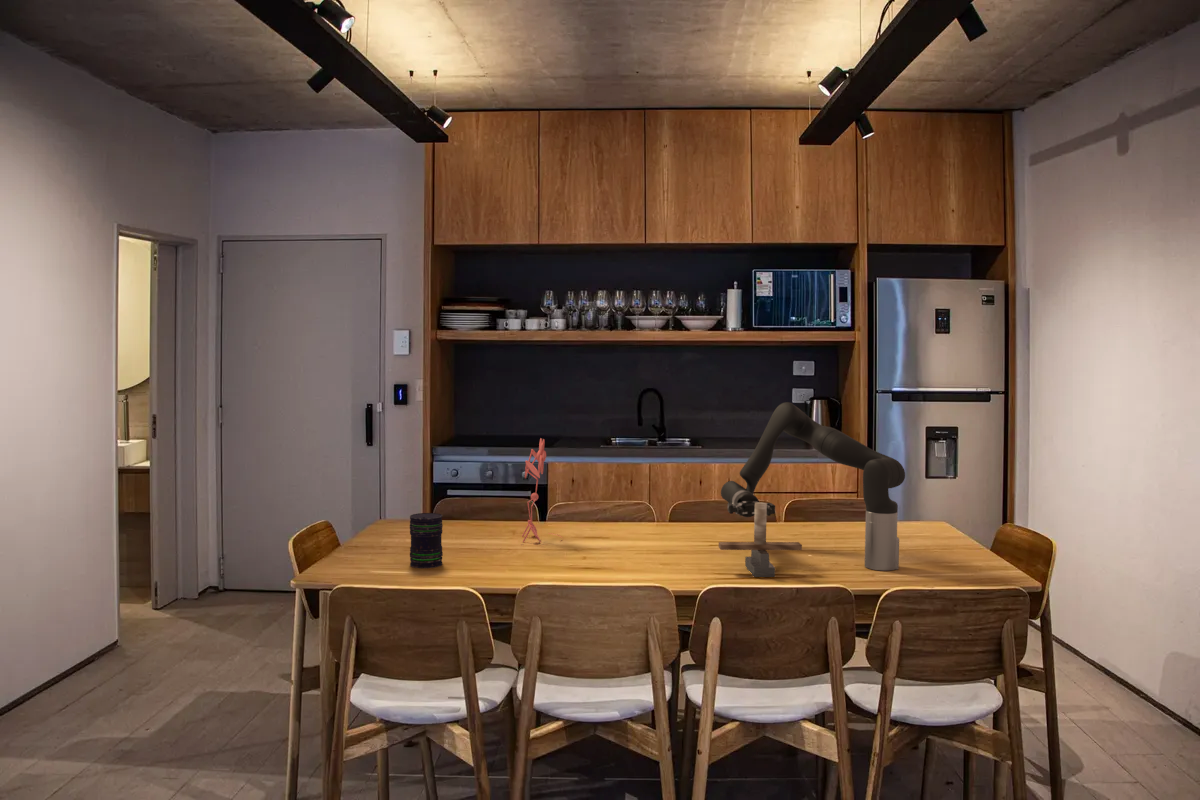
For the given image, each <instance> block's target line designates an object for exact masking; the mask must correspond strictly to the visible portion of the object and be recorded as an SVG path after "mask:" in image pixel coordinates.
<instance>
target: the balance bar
mask: <svg viewBox="0 0 1200 800" xmlns="http://www.w3.org/2000/svg"><path fill="white" fill-rule="evenodd" d="M767 503H768V502H762V501H761V502H760V501H759V502H757V503H755V515H754V516H753V519H754V521H753V523H754V525H753V529H754V530H753V531H754V532H753V541H719V542H718V548H719V550H721V551H750V550H766V551H802V550H803V545H802V544H801V543H800V542H799V541H792V542H790V541H784V542H783V541H767V516H768V515H767Z"/></svg>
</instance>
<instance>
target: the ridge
mask: <svg viewBox="0 0 1200 800" xmlns="http://www.w3.org/2000/svg"><path fill="white" fill-rule="evenodd" d="M750 553H751V556H744V557H745V561H744V562H745V564H744V567H745V566H746V567H747V568H746V567H745V568H746V570H748V572H749V571H750V572H751V573H752V574H751V573H750V572H749V573H750V574H751V576H752V577H753V576H754V577H775V578H776V567H775V566H774V565H773V563H771V562H770V553H769V552H768V550H751V552H750ZM754 577H753V578H754Z"/></svg>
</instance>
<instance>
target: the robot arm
mask: <svg viewBox="0 0 1200 800" xmlns="http://www.w3.org/2000/svg"><path fill="white" fill-rule="evenodd" d="M783 432H784V433H785V434H787V435H789V436H791V437H794V438H796V439H799V440H801V441H804V442H806V443H807V444H809V445H810V446H812V447H813V448H814V449H815V450H816V451H817V452H819V454H822V455H823V456H825V457H827V458H828V459H830V460H831V461H834V462H836V463H838V464H841V465H844V466H848V467H851V468H855V469H859V470H862V471H863V472H862V493H863V495H862V496H863V502H864V504H865V526H864V527H865V536H864V567H865V568H867V569H869V570H874V571H875V570H876V571H894V570H899V567H900V564H899V563H900V538H899V537H898V512H899V511H898V509H899V508H898V506H899V505H898V503H897V502H896V501H894V500H892V499H891V498H890V496H889V495H890V494H889V489H893V488H897V487H899V486H900V485H902V484H903V483H904V482H905V479H906V472H905V468H904V467H903V465H902V464H901V462H899V460H897V459H894V457H890V456H888V455H886V454H883V453H881V452H878V451H876V450H874V449H872V448H870V447H868V446H866V445H865V444H863V443H861V442H859V441H858V440H856V439H854V438H853V437H850V435H847V434H846V433H844V432H842V431H841V430H839V429H837V428H834V427H831V426H826V425H821V424H820V423H818V422H817V421H815V420H814V419H813V418H811V417H809V415H807V414H806V413H805V412H804V411H803V410H801V409H800V408H799V407H797V406H796V405H794V403H792V402H789V401H787V402H786V401H785V402H782V403H780V404H779V405H778V406H777V407H775V409H774V411H773V412H772V415H771V416H770V418H769V420H768V422H767V424H766V426H765V429H764V431H763V433H762V434H761V437H760V439H759V440H758V443H757V445H756V447H755V449H754V450H753V452H752V453H751V455H750V456H749V458H748V459H747V460H746V462H744V463H745V464H744V465H743V467H742V468H741V469H740V471H739V476H740V477H741V478H742V480H744V481H745V482H746V488H745V487H743V486H742V485H741V484H739V483H737V482H736V481H735V480H729V481H727V482H725V483H724V484H723V485H722V487H721V488H720V489H721V490H720V496H721V498H722V499H723V500H725V501H726V502H727V512H728V514H731V515H732V514H736V515H739V517H741V516H742V517H745V518H751V517H754V516H755V503H757V502H760V500H759V498H758V497H757V496H756V495H754V493H755V490H756V489H757V485H758V483H759V482H760V480H761V479H762V477H763V476H764V474H765V473H766V471H767V470H768V468H769V466H770V465H771V462H772V459H773V454H774V449H775V446H776V444H777V443H776V442H777V441H778V439H779V438H780V436H781V434H782V433H783ZM766 503H767V515H766V516H768V517H771V515H775V514H776V505H775V504H773V503H772V502H766Z"/></svg>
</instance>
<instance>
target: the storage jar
mask: <svg viewBox="0 0 1200 800" xmlns="http://www.w3.org/2000/svg"><path fill="white" fill-rule="evenodd" d="M442 519H443V514H440V513H435V512H422V513H421V512H420V513H413V514H411V515H409V535H410V547H409V560H410V563H409V566H410V567H412V568H415V569H433V568H438V567H441V566H443V555H444V553H443V545H442V534H443V525H444V524H443V520H442Z"/></svg>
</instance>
